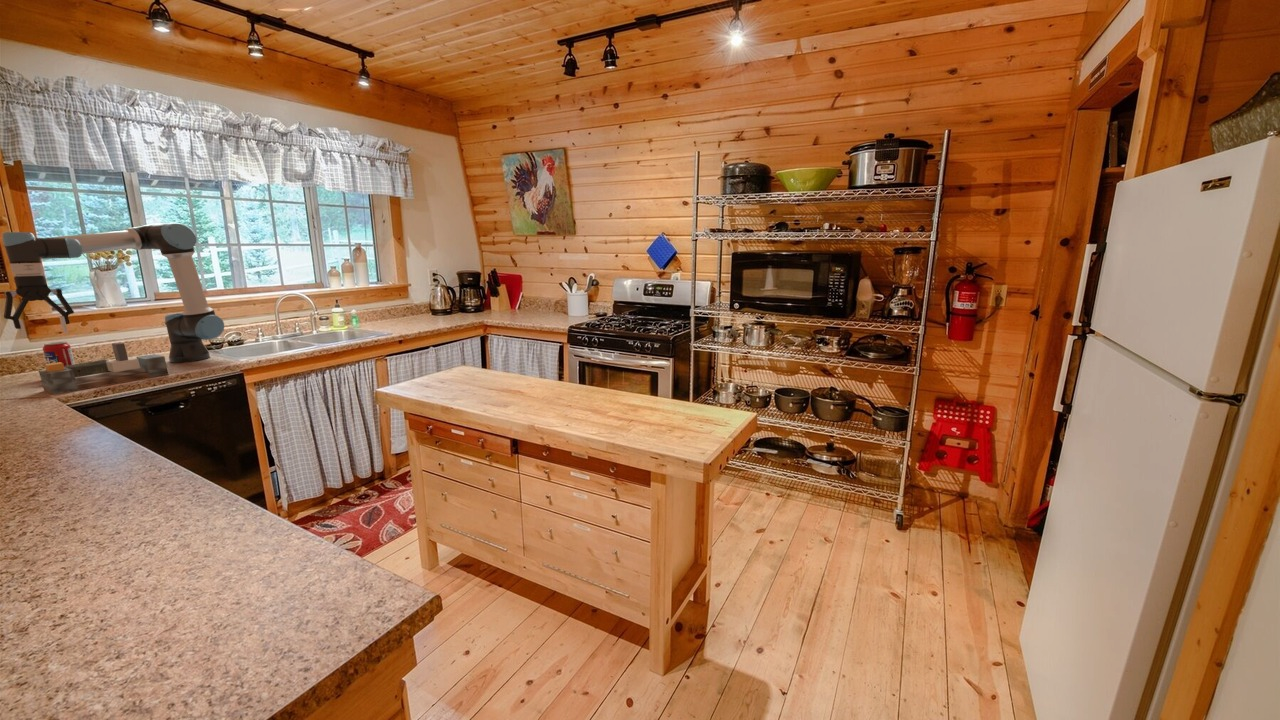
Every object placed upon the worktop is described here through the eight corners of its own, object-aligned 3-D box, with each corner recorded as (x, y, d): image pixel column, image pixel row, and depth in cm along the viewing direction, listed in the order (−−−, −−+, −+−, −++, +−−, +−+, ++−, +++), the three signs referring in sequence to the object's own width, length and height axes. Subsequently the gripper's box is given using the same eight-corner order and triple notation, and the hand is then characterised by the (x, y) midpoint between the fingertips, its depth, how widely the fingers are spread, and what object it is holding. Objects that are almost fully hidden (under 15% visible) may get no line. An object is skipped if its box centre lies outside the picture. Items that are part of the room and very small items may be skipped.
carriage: (134, 366, 216) (128, 341, 213) (140, 368, 212) (134, 342, 210) (108, 370, 209) (101, 344, 207) (114, 372, 205) (107, 345, 203)
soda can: (81, 375, 221) (72, 341, 217) (55, 379, 214) (45, 344, 210) (73, 373, 224) (64, 340, 221) (47, 378, 217) (37, 343, 214)
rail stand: (158, 371, 224) (154, 354, 222) (168, 374, 219) (164, 356, 217) (44, 391, 196) (38, 370, 194) (52, 394, 190) (46, 373, 188)
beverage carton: (118, 373, 223) (115, 359, 222) (57, 385, 206) (53, 369, 204) (108, 372, 226) (105, 358, 224) (47, 383, 208) (43, 368, 207)
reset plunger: (63, 373, 197) (60, 362, 196) (66, 374, 195) (63, 363, 194) (47, 375, 194) (44, 364, 193) (50, 376, 192) (47, 365, 191)
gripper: (-18, 277, 175) (1, 340, 180) (75, 273, 194) (91, 331, 199) (-22, 277, 179) (-3, 339, 184) (70, 273, 198) (85, 330, 202)
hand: (45, 335), depth 191 cm, fingers open, 10 cm apart
